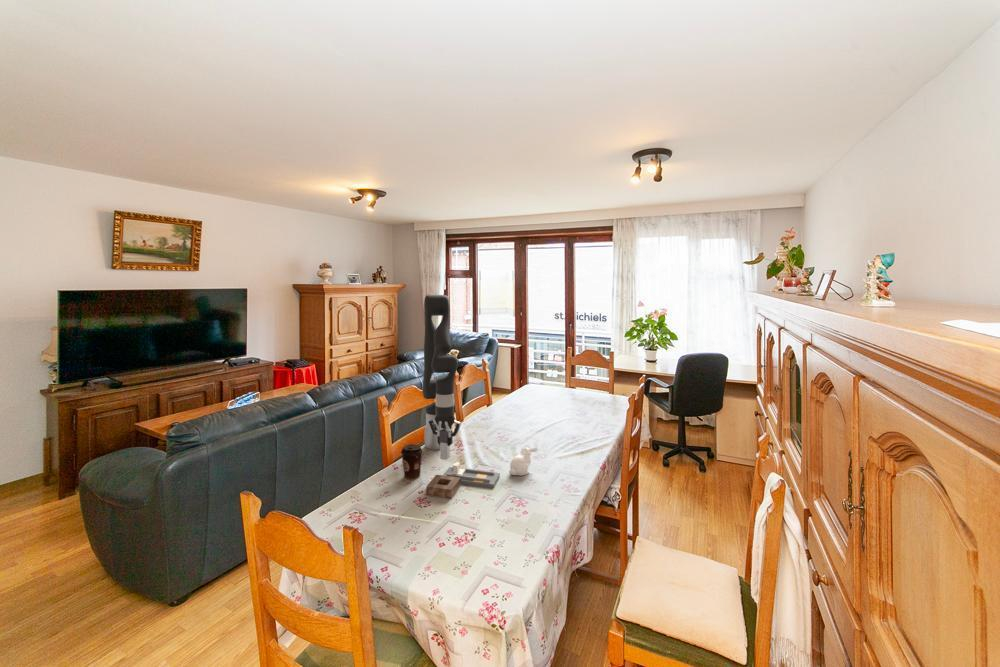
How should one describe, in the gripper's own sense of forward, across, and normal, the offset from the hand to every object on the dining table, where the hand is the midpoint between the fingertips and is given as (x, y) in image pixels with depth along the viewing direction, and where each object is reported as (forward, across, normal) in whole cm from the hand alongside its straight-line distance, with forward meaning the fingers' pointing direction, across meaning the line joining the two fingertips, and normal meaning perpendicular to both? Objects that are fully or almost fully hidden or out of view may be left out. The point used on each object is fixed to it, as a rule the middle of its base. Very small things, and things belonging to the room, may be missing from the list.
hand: (445, 444), depth 176 cm
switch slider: (+12, +6, 0) cm, 13 cm away
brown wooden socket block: (+14, +4, -12) cm, 19 cm away
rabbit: (+14, +30, +13) cm, 36 cm away
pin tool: (+6, 0, 0) cm, 6 cm away
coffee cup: (+14, -13, -4) cm, 20 cm away
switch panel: (+14, +11, 0) cm, 18 cm away
